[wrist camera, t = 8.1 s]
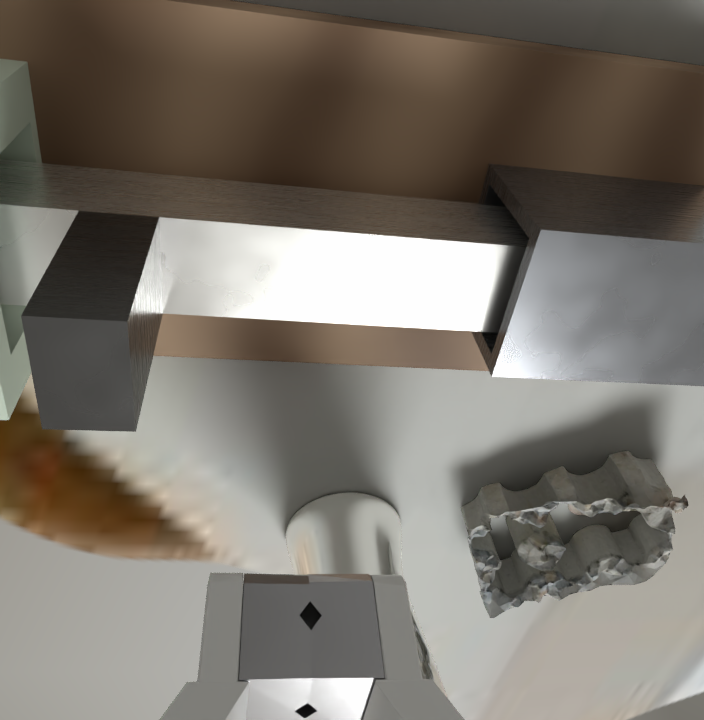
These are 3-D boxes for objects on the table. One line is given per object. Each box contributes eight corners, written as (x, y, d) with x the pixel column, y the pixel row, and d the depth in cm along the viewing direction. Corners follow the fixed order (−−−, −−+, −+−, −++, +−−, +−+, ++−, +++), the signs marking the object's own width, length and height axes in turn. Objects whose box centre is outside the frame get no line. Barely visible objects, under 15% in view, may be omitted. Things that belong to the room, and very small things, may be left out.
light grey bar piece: (587, 211, 22) (723, 352, 15) (558, 291, 23) (668, 447, 17) (-104, 147, 18) (-305, 295, 12) (-77, 247, 20) (-238, 423, 14)
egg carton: (658, 435, 33) (702, 497, 30) (646, 527, 37) (682, 589, 34) (453, 481, 33) (474, 547, 30) (465, 566, 38) (484, 632, 34)
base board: (742, 71, 22) (769, 82, 21) (610, 356, 29) (625, 377, 28) (-233, -64, 17) (-271, -59, 16) (-107, 319, 24) (-127, 342, 23)
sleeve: (705, 185, 23) (799, 251, 19) (648, 307, 26) (718, 386, 22) (489, 163, 21) (541, 229, 17) (454, 294, 24) (491, 376, 20)
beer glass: (315, 469, 31) (347, 838, 19) (433, 506, 34) (527, 851, 22) (255, 554, 34) (250, 913, 23) (367, 581, 37) (416, 916, 25)
